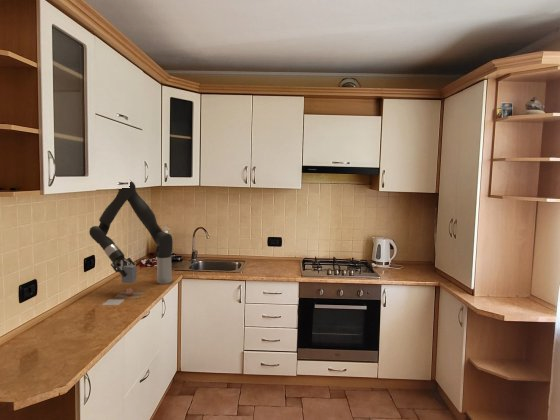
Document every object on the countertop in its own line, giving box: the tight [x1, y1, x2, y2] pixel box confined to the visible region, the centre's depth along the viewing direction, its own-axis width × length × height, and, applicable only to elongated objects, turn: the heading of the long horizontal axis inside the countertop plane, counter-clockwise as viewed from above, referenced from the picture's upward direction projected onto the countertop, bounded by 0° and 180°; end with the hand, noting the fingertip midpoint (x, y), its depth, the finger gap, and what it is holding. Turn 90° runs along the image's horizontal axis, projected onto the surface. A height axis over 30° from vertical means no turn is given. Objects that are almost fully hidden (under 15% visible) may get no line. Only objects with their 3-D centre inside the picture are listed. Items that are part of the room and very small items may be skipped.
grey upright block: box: [121, 264, 137, 284], centre depth 221 cm, size 6×6×9 cm
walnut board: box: [112, 290, 146, 300], centre depth 222 cm, size 14×14×1 cm
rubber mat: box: [102, 298, 126, 306], centre depth 209 cm, size 9×9×1 cm
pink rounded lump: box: [126, 288, 134, 296], centre depth 222 cm, size 3×3×3 cm
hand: (130, 274), depth 220 cm, fingers closed on grey upright block, 8 cm apart
